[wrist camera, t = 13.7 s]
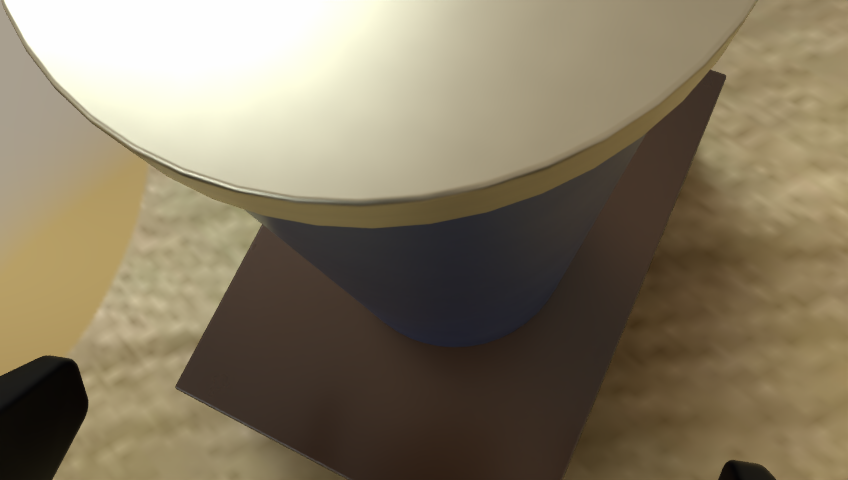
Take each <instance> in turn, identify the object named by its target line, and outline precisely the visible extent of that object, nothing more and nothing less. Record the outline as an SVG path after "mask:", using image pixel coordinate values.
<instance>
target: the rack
mask: <svg viewBox="0 0 848 480" xmlns="http://www.w3.org/2000/svg"><path fill="white" fill-rule="evenodd" d="M725 80H726V75H724V74H721V73H719V72H716V71H713V70H709V72H708V73H707V74H706V75H705V76H704V77H703V79H702V80H701V81H700V82H699V83H698V84H697V85H696V87H695V88H694V89H693V90H692V91H691V92H690V93H689V95H688V96H687V97H686V98H685V99H684V100H683V101H682V102H681V103H680V104H679V105H678V106H677V107H675V108H674V109H673V110H672V111H671V112H670V113H668V114H667V115H666V116H665V117H664V118H663V119H662V120H660V121H659V122H658V123H657V124H656V125H655V126H654V127H652V128H651V129H650V130H649V131H648V132H647V133H646V135H645V137H644V138H643V140H642V142H641V143H640V145H639V147H638V149H637V150H636V152H635V154H634V155H633V157H632V159H631V161H630V162H629V164H628V166H627V167H626V169H625V171H624V173H623V174H622V176H621V178H620V179H619V181H618V183H617V184H616V186H615V188H614V190H613V191H612V193H611V195H610V196H609V198H608V200H607V202H606V203H605V205H604V207H603V208H602V210H601V212H600V214H599V215H598V217H597V219H596V220H595V222H594V224H593V226H592V227H591V229H590V231H589V232H588V234H587V236H586V237H585V239H584V241H583V243H582V244H581V246H580V248H579V249H578V251H577V253H576V255H575V256H574V258H573V260H572V261H571V263H570V265H569V267H568V268H567V270H566V272H565V273H564V275H563V277H562V278H561V280H560V282H559V284H558V285H557V287H556V289H555V290H554V292H553V293H552V295H551V296H550V298H549V300H548V301H547V302H546V304H545V305H544V306H543V307H542V308H541V309H540V311H539V312H538V313H537V314H536V315H535V316H534V317H532V318H531V319H530V320H529V321H528V322H527V323H526V324H524V325H523V326H521V327H520V328H518V329H517V330H515V331H514V332H512V333H510V334H508V335H506V336H504V337H502V338H500V339H497V340H494V341H491V342H488V343H485V344H479V345H474V346H468V347H443V346H436V345H431V344H426V343H423V342H420V341H417V340H414V339H411V338H409V337H407V336H405V335H403V334H401V333H399V332H397V331H396V330H394V329H393V328H391V327H390V326H388V325H387V324H386V323H384V322H383V321H382V320H380V319H379V318H378V317H377V316H376V315H374V314H373V313H372V312H371V311H369V310H368V309H367V308H366V307H364V306H363V305H362V304H361V303H359V302H358V301H357V300H356V299H354V298H353V297H352V296H351V295H350V294H348V293H347V292H346V291H345V290H343V289H342V288H341V287H340V286H338V285H337V284H336V283H335V282H333V281H332V280H331V279H330V278H328V277H327V276H326V275H325V274H323V273H322V272H321V271H320V270H319V269H317V268H316V267H315V266H314V265H312V264H311V263H310V262H309V261H307V260H306V259H305V258H304V257H302V256H301V255H300V254H299V253H297V252H296V251H295V250H294V249H293V248H291V247H290V246H289V245H288V244H286V243H285V242H284V241H283V240H281V239H280V238H279V237H278V236H276V235H275V234H274V233H273V232H271V231H270V230H269V229H268V228H266V227H265V226H264V225H263V224H262V226H261V227H260V229H259V231H258V233H257V235H256V237H255V239H254V241H253V242H252V244H251V246H250V248H249V250H248V252H247V254H246V255H245V257H244V259H243V261H242V263H241V265H240V267H239V269H238V270H237V272H236V274H235V276H234V278H233V280H232V282H231V283H230V285H229V287H228V289H227V291H226V293H225V295H224V297H223V298H222V300H221V302H220V304H219V306H218V308H217V310H216V311H215V313H214V315H213V317H212V319H211V321H210V323H209V325H208V326H207V328H206V330H205V332H204V334H203V336H202V338H201V339H200V341H199V343H198V345H197V347H196V349H195V351H194V353H193V354H192V356H191V358H190V360H189V362H188V364H187V366H186V367H185V369H184V371H183V373H182V375H181V377H180V379H179V381H178V382H177V384H176V387H175V388H176V389H177V390H179V391H181V392H183V393H185V394H187V395H188V396H190V397H192V398H194V399H196V400H198V401H200V402H202V403H204V404H206V405H207V406H209V407H211V408H213V409H215V410H217V411H219V412H221V413H223V414H224V415H226V416H228V417H230V418H232V419H234V420H236V421H238V422H240V423H242V424H243V425H245V426H247V427H249V428H251V429H253V430H255V431H257V432H259V433H260V434H262V435H264V436H266V437H268V438H270V439H272V440H274V441H276V442H278V443H279V444H281V445H283V446H285V447H287V448H289V449H291V450H293V451H295V452H296V453H298V454H300V455H302V456H304V457H306V458H308V459H310V460H312V461H314V462H315V463H317V464H319V465H321V466H323V467H325V468H327V469H329V470H331V471H332V472H334V473H336V474H338V475H340V476H342V477H344V478H346V479H348V480H563V478H564V475H565V473H566V470H567V468H568V465H569V463H570V461H571V458H572V456H573V453H574V451H575V448H576V446H577V443H578V441H579V438H580V436H581V434H582V431H583V429H584V426H585V424H586V421H587V419H588V416H589V414H590V411H591V409H592V406H593V404H594V402H595V399H596V397H597V394H598V392H599V389H600V387H601V384H602V382H603V379H604V377H605V375H606V372H607V370H608V367H609V365H610V362H611V360H612V357H613V355H614V352H615V350H616V348H617V345H618V343H619V340H620V338H621V335H622V333H623V330H624V328H625V325H626V323H627V320H628V318H629V316H630V313H631V311H632V308H633V306H634V303H635V301H636V298H637V296H638V293H639V291H640V289H641V286H642V284H643V281H644V279H645V276H646V274H647V271H648V269H649V266H650V264H651V261H652V259H653V257H654V254H655V252H656V249H657V247H658V244H659V242H660V239H661V237H662V234H663V232H664V230H665V227H666V225H667V222H668V220H669V217H670V215H671V212H672V210H673V207H674V205H675V203H676V200H677V198H678V195H679V193H680V190H681V188H682V185H683V183H684V180H685V178H686V175H687V173H688V171H689V168H690V166H691V163H692V161H693V158H694V156H695V153H696V151H697V148H698V146H699V144H700V141H701V139H702V136H703V134H704V131H705V129H706V126H707V124H708V121H709V119H710V116H711V114H712V112H713V109H714V107H715V104H716V102H717V99H718V97H719V94H720V92H721V89H722V87H723V85H724V82H725Z"/></svg>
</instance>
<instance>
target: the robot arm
mask: <svg viewBox="0 0 848 480" xmlns="http://www.w3.org/2000/svg"><path fill="white" fill-rule="evenodd" d="M87 410H88V397H87V394H86V391H85V387H84V384H83V381H82V378H81V375H80V371H79V368H78V366H77V364H76V363H75V362H74V361H73V360H72V359H69V358H63V357H56V356H42V357H40V358H37V359H35V360H33V361H31V362H29V363H27V364H25V365H23V366H21V367H19V368H17V369H14V370H12V371H10V372H8V373H6V374H4V375H2V376H0V480H52V479H53V477H54V475H55V474H56V472H57V470H58V468H59V466H60V464H61V462H62V460H63V458H64V457H65V455H66V453H67V451H68V449H69V447H70V445H71V443H72V441H73V440H74V438H75V436H76V434H77V432H78V430H79V428H80V426H81V424H82V422H83V421H84V419H85V416H86V414H87ZM718 480H776V479H775V478H774V476H773V475H772V474H771V473H770V472H769V471H768V470H767V469H766V468H765V467H763V466H762V465H760V464H756V463H749V462H743V461H736V460H730V461H728V462H727V463H726V464H725V465H724V467H723V469H722V471H721V474H720V476H719V479H718Z"/></svg>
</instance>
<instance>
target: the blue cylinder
mask: <svg viewBox="0 0 848 480" xmlns="http://www.w3.org/2000/svg"><path fill="white" fill-rule="evenodd" d="M757 1H758V0H1V2H2V5H3V8H4V10H5V12H6V14H7V15H8V17H9V19H10V21H11V23H12V25H13V27H14V29H15V31H16V33H17V34H18V36H19V38H20V40H21V42H22V44H23V46H24V47H25V49H26V51H27V52H28V54H29V55H30V56H31V58H32V59H33V60H34V62H35V63H36V64H37V66H38V67H39V68H40V69H41V71H42V72H43V73H44V75H45V76H46V77H47V79H48V80H49V81H50V82H51V84H52V85H53V86H54V88H55V89H56V90H57V91H58V92H59V93H60V94H61V95H62V96H63V97H65V98H66V99H67V100H68V101H69V102H70V103H71V104H72V105H73V106H74V107H75V108H76V109H77V110H78V111H79V112H80V113H81V114H82V115H84V116H85V117H86V118H87V119H88V120H89V121H90V122H91V123H92V124H94V125H95V126H97V127H98V128H99V129H101V130H102V131H104V132H105V133H106V134H108V135H109V136H111V137H112V138H113V139H115V140H116V141H117V142H119V143H120V144H122V145H123V146H124V147H126V148H127V149H129V150H130V151H132V152H133V153H135V154H136V155H137V156H139V157H140V158H142V159H143V160H145V161H146V162H147V163H149V164H150V165H152V166H153V167H155V168H156V169H158V170H159V171H160V172H162V173H163V174H165V175H166V176H168V177H170V178H172V179H174V180H176V181H178V182H180V183H182V184H184V185H186V186H188V187H190V188H192V189H194V190H196V191H198V192H200V193H202V194H204V195H206V196H208V197H210V198H212V199H215V200H218V201H221V202H224V203H227V204H230V205H233V206H236V207H239V208H242V209H244V210H245V211H247V212H248V213H249V214H250V215H252V216H253V217H254V218H255V219H257V220H258V221H259V222H260V223H262V224H263V225H264V226H265V227H266V228H268V229H269V230H270V231H271V232H273V233H274V234H275V235H276V236H278V237H279V238H280V239H281V240H283V241H284V242H285V243H286V244H288V245H289V246H290V247H291V248H293V249H294V250H295V251H296V252H297V253H299V254H300V255H301V256H302V257H304V258H305V259H306V260H307V261H309V262H310V263H311V264H312V265H314V266H315V267H316V268H317V269H319V270H320V271H321V272H322V273H323V274H325V275H326V276H327V277H328V278H330V279H331V280H332V281H333V282H335V283H336V284H337V285H338V286H340V287H341V288H342V289H343V290H345V291H346V292H347V293H348V294H350V295H351V296H352V297H353V298H354V299H356V300H357V301H358V302H359V303H361V304H362V305H363V306H364V307H366V308H367V309H368V310H369V311H371V312H372V313H373V314H374V315H376V316H377V317H378V318H379V319H380V320H382V321H383V322H384V323H386V324H387V325H388V326H390V327H391V328H393V329H394V330H396V331H397V332H399V333H401V334H403V335H405V336H407V337H409V338H411V339H414V340H417V341H420V342H423V343H426V344H431V345H436V346H443V347H468V346H474V345H479V344H485V343H488V342H491V341H494V340H497V339H500V338H502V337H504V336H506V335H508V334H510V333H512V332H514V331H515V330H517V329H518V328H520V327H521V326H523V325H524V324H526V323H527V322H528V321H529V320H530V319H531V318H532V317H534V316H535V315H536V314H537V313H538V312H539V311H540V309H541V308H542V307H543V306H544V305H545V304H546V302H547V301H548V300H549V298H550V296H551V295H552V293H553V292H554V290H555V289H556V287H557V285H558V284H559V282H560V280H561V278H562V277H563V275H564V273H565V272H566V270H567V268H568V267H569V265H570V263H571V261H572V260H573V258H574V256H575V255H576V253H577V251H578V249H579V248H580V246H581V244H582V243H583V241H584V239H585V237H586V236H587V234H588V232H589V231H590V229H591V227H592V226H593V224H594V222H595V220H596V219H597V217H598V215H599V214H600V212H601V210H602V208H603V207H604V205H605V203H606V202H607V200H608V198H609V196H610V195H611V193H612V191H613V190H614V188H615V186H616V184H617V183H618V181H619V179H620V178H621V176H622V174H623V173H624V171H625V169H626V167H627V166H628V164H629V162H630V161H631V159H632V157H633V155H634V154H635V152H636V150H637V149H638V147H639V145H640V143H641V142H642V140H643V138H644V137H645V135H646V133H647V132H648V131H649V130H650V129H651V128H652V127H654V126H655V125H656V124H657V123H658V122H659V121H660V120H662V119H663V118H664V117H665V116H666V115H667V114H668V113H670V112H671V111H672V110H673V109H674V108H675V107H677V106H678V105H679V104H680V103H681V102H682V101H683V100H684V99H685V98H686V97H687V96H688V95H689V93H690V92H691V91H692V90H693V89H694V88H695V87H696V85H697V84H698V83H699V82H700V81H701V80H702V79H703V77H704V76H705V75H706V74H707V73H708V72H709V70H710V69H711V68H712V67H713V66H714V65H715V64H716V62H717V61H718V60H719V59H720V57H721V56H722V54H723V53H724V51H725V50H726V48H727V47H728V45H729V44H730V42H731V41H732V39H733V38H734V36H735V35H736V33H737V32H738V30H739V29H740V27H741V26H742V24H743V23H744V21H745V20H746V18H747V17H748V15H749V13H750V12H751V10H752V9H753V7H754V6H755V4H756V3H757Z"/></svg>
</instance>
